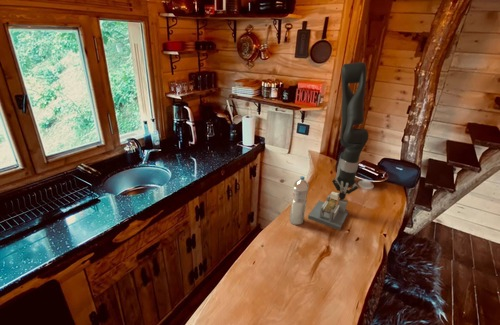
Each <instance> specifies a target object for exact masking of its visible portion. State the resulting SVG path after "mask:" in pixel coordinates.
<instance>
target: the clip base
mask: <svg viewBox="0 0 500 325" xmlns="http://www.w3.org/2000/svg"><path fill="white" fill-rule="evenodd" d="M330 200H331V198H330V194H328V195H327V197H326V200H325V201H321V200H318V201H317V203H316V204H315V206H314V207H313V208H312V209H311V211H310V213H308V216H307V219H308V220H311V221H314V222H317V223H319V224H321V225H323V226H327V227H330V228H332V229H335V230H337V231H341V229H342V227H343V225H344V223H345V221H346V219H347V217H348V215H349V211H350V210H348V209H347V206H348V203H349V201H348V200H347V199H343V200H342V199H340V198H339V199H338V200H337V203H336V204H335V206H334V207H333V209H332V210H331V212H330V213H327V212H324V209H325V207H326V206H327V204H328V203H329V201H330Z"/></svg>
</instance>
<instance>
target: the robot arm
mask: <svg viewBox="0 0 500 325" xmlns="http://www.w3.org/2000/svg"><path fill="white" fill-rule="evenodd" d="M340 73H341V74H340V76H341V92H342V93H341V94H342V97H341V98H342V99H341V130H340V131H341V132H340V145H341V147H344V148H345V149H344V150H343V151H342V152H341V153H340V157H339V161H338V164H337V165H338V166H337V171H336V175H335V177H334V178H333V179H332V181H331V182H332V184H333V186H334V187H335V189H336V191H338V192H339V194H340V195H339V199H342V200H343V199H344V200H346V199H345V198H346V196H347V194H348V195H349V194H352V193H354V192H355V191H356V190H358V189H359V187H360V186H359V185H358V184H356V180H355V179H356V175H357V171H358V166H359V161H360V155H361V154H362V151H363V149H364V147H365V145H366V144H367V142H368V140H369V132H368V130H367V129H365V128H355V127H354V126H359V125H362V124H363V123H364V118H365V117H364V116H365V115H364V114H365V113H364V111H365V110H364V106H365V104H364V102H365V96H366V94H365V93H366V84H367V65H366V63H365V62H351V63H345V64H343V65H342V67H341V72H340ZM350 84H358V87H357V88H356V91H355V93H354V92H353V91H352V90H351V87H350Z"/></svg>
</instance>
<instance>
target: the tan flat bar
mask: <svg viewBox="0 0 500 325" xmlns="http://www.w3.org/2000/svg"><path fill="white" fill-rule="evenodd" d="M337 203H338V200H335V199H332V198H330V201H329V203H328V204H327V206H326V207H325V209H324V212H327V213H330V212H331V210H332V209H333V207H334V206H336V205H337ZM335 204H336V205H335Z"/></svg>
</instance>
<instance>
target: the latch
mask: <svg viewBox="0 0 500 325" xmlns="http://www.w3.org/2000/svg"><path fill="white" fill-rule="evenodd" d="M329 195H330V199H331V198H332V199H335V200H337V201H339V199H340V198H339V195H340V192H335V191H331V193H330V194H329Z"/></svg>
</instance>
